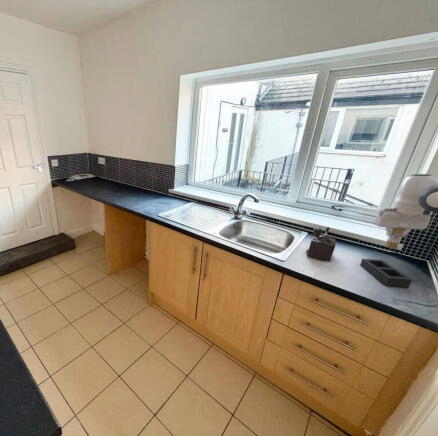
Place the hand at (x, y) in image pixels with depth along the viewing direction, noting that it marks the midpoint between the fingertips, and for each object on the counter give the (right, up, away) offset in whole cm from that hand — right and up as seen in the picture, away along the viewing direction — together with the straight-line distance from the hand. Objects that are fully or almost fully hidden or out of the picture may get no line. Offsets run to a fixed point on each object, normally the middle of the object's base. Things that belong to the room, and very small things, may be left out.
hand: (395, 235), depth 117 cm
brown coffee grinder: (-30, -12, +11) cm, 34 cm away
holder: (-11, -18, -5) cm, 22 cm away
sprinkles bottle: (0, -6, +2) cm, 6 cm away
